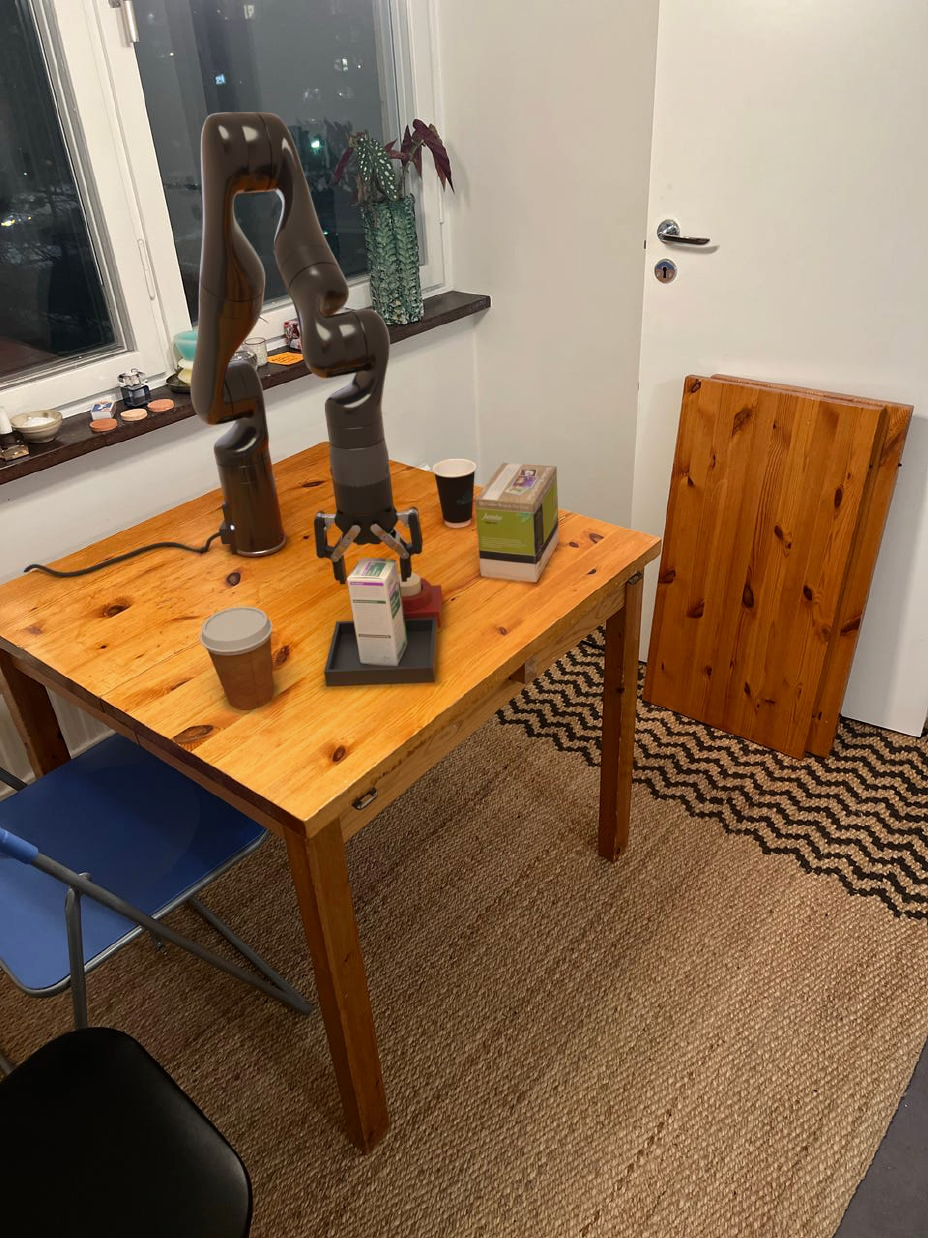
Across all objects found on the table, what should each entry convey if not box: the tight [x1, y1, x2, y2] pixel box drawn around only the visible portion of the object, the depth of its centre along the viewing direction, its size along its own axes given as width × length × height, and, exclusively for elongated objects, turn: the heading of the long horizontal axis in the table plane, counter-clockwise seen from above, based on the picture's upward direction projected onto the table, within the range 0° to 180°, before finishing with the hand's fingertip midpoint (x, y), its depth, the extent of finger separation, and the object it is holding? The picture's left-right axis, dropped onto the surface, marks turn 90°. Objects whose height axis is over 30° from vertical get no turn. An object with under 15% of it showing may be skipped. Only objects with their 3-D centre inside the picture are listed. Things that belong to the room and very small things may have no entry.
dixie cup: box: [432, 458, 477, 529], centre depth 167 cm, size 8×8×11 cm
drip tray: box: [323, 617, 439, 688], centre depth 133 cm, size 15×13×3 cm
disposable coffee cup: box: [199, 606, 275, 710], centre depth 124 cm, size 10×10×12 cm
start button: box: [399, 572, 421, 597], centre depth 140 cm, size 4×4×2 cm
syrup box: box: [346, 557, 408, 666], centre depth 129 cm, size 6×6×14 cm
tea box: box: [474, 462, 560, 583], centre depth 152 cm, size 15×10×15 cm, turn 160°
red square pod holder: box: [402, 577, 443, 629], centre depth 142 cm, size 10×8×5 cm
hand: (374, 580), depth 126 cm, fingers open, 8 cm apart
